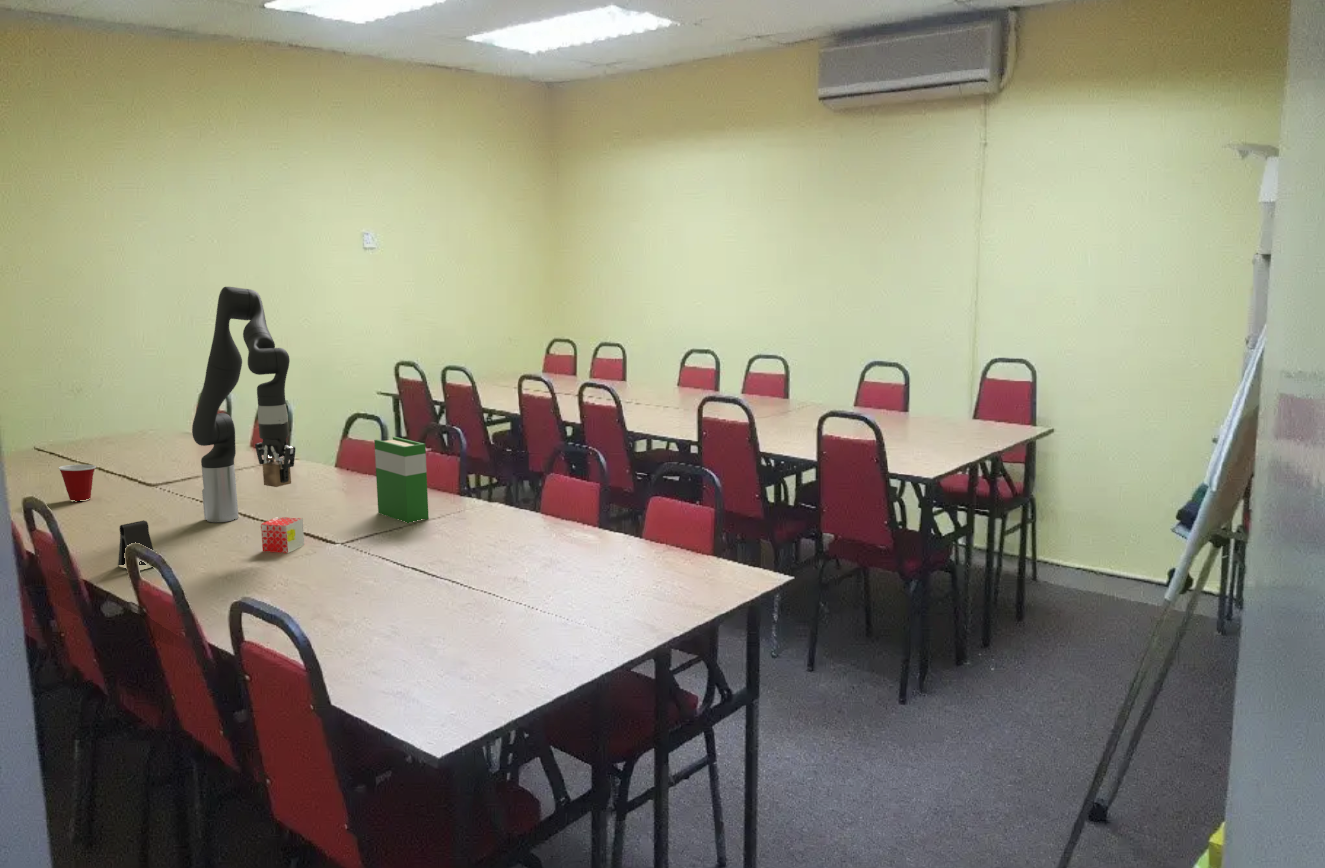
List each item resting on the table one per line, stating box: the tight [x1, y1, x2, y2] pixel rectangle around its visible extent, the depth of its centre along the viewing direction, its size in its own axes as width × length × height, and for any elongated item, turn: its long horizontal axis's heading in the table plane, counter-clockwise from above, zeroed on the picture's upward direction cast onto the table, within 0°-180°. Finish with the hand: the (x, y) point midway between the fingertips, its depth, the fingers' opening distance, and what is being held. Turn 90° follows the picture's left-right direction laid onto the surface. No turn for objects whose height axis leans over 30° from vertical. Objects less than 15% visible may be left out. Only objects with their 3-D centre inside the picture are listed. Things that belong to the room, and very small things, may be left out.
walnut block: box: [261, 460, 292, 488], centre depth 261 cm, size 5×5×6 cm
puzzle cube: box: [260, 516, 305, 554], centre depth 265 cm, size 8×8×8 cm
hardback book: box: [374, 436, 430, 524], centre depth 297 cm, size 18×7×24 cm, turn 46°
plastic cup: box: [58, 464, 97, 501], centre depth 317 cm, size 11×11×12 cm
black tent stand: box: [117, 520, 154, 570], centre depth 247 cm, size 9×6×12 cm, turn 53°
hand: (277, 480), depth 262 cm, fingers closed on walnut block, 5 cm apart
